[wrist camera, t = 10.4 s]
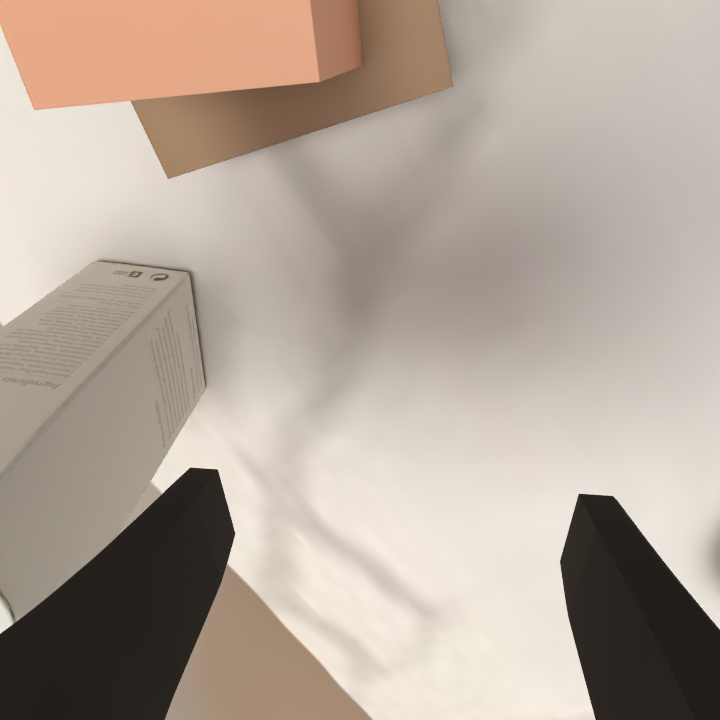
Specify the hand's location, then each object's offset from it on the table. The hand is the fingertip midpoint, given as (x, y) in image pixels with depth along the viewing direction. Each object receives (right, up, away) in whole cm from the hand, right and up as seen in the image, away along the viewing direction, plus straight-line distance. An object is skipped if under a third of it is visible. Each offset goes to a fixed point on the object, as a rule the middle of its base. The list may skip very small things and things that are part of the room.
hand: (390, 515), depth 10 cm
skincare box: (-9, +5, +11) cm, 15 cm away
